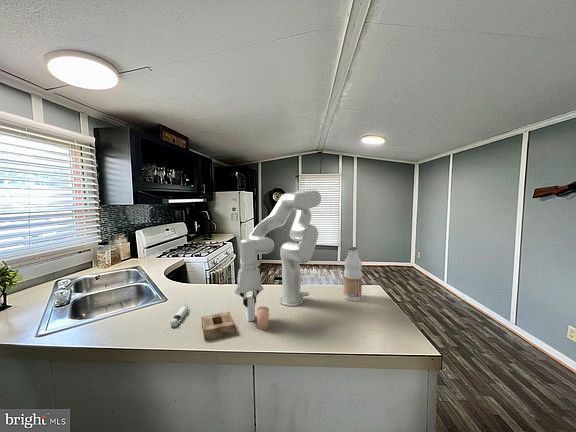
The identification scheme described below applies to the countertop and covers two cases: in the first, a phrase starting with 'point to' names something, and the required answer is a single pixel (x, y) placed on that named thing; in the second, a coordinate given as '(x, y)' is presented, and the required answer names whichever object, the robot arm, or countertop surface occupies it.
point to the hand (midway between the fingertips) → (249, 305)
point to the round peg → (263, 318)
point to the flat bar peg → (250, 308)
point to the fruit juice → (352, 276)
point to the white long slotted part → (179, 315)
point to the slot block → (217, 325)
